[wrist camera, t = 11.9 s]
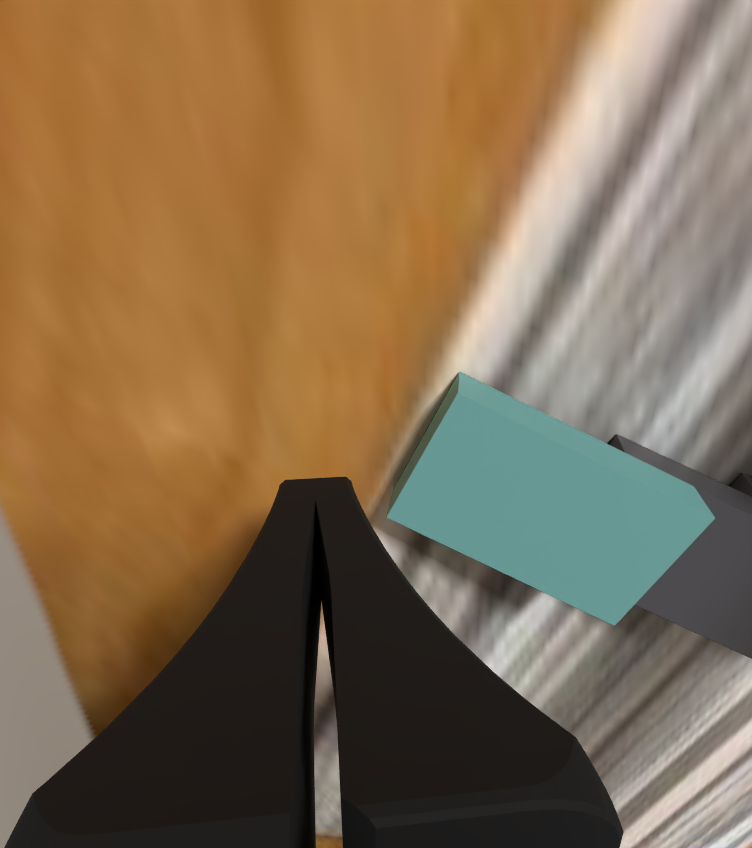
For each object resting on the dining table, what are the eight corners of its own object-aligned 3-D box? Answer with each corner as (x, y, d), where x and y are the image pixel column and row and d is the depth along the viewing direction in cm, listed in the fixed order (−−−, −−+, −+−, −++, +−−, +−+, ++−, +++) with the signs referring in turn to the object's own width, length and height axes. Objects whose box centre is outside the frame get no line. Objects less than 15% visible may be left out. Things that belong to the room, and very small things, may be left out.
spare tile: (459, 371, 16) (693, 486, 16) (393, 488, 18) (603, 589, 18) (457, 392, 14) (715, 518, 15) (386, 517, 16) (614, 626, 16)
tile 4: (616, 433, 17) (833, 534, 17) (544, 535, 19) (738, 625, 19) (627, 457, 16) (863, 567, 16) (548, 565, 18) (758, 661, 18)
